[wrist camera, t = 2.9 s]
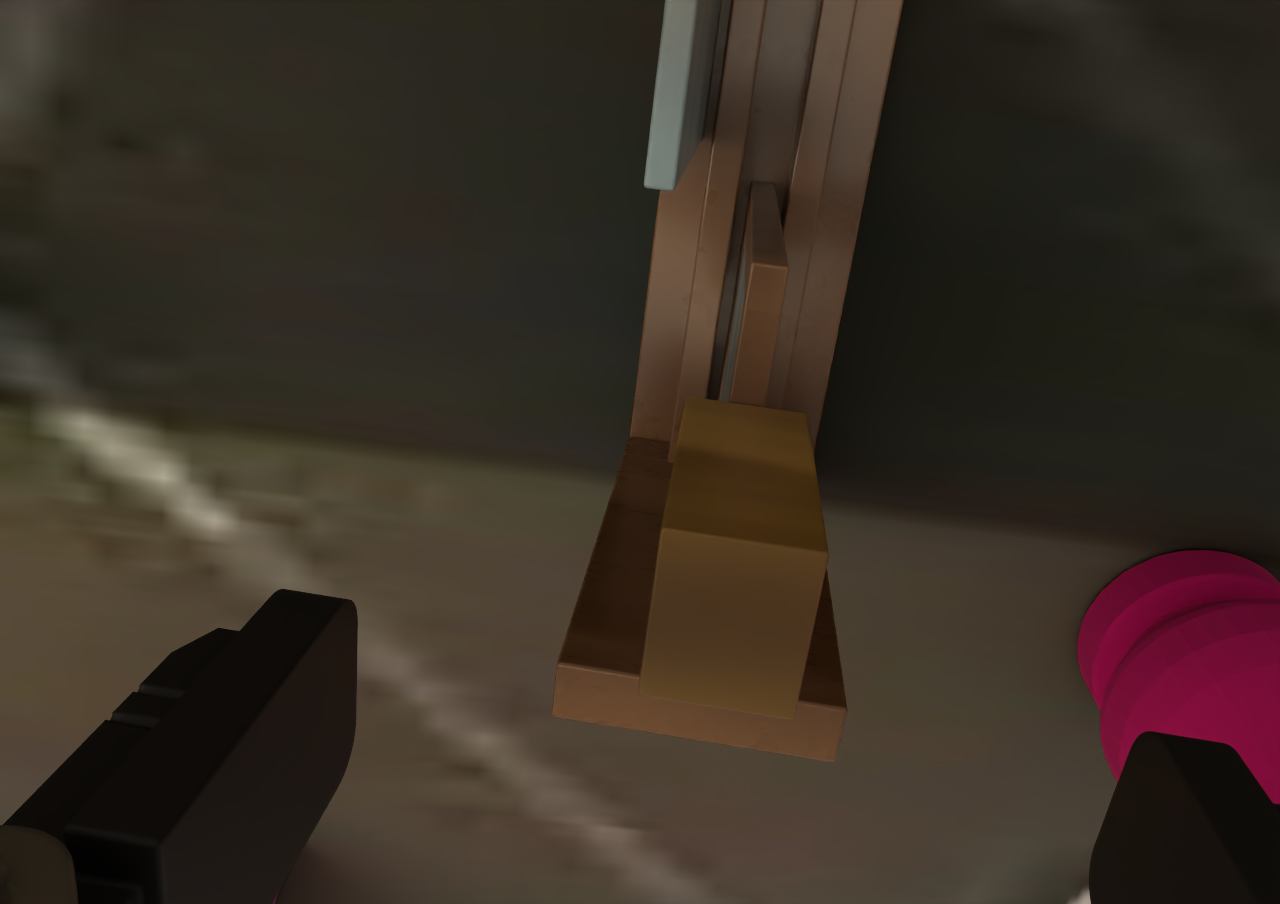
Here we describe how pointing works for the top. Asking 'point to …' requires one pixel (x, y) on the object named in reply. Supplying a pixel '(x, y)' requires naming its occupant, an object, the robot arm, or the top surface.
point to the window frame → (701, 308)
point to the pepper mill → (1188, 657)
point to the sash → (740, 517)
